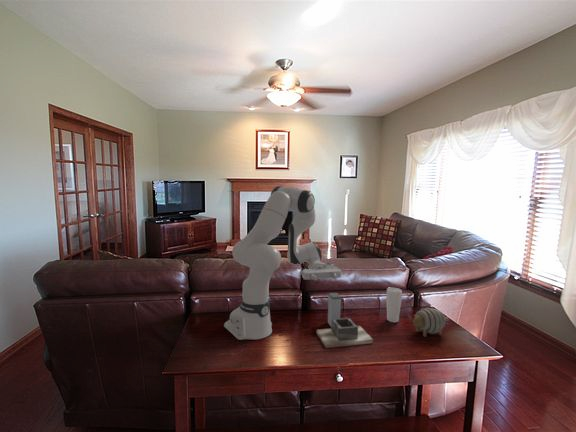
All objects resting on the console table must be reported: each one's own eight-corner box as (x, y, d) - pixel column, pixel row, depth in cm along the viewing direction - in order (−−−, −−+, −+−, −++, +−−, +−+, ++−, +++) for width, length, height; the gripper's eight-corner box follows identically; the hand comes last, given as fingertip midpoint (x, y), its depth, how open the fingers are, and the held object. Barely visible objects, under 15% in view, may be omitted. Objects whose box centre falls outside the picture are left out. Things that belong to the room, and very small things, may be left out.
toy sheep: (405, 330, 130) (406, 306, 129) (436, 325, 135) (438, 302, 134) (422, 342, 120) (424, 316, 119) (455, 336, 125) (457, 311, 124)
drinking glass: (401, 319, 140) (403, 289, 139) (398, 325, 135) (400, 293, 133) (387, 316, 144) (388, 286, 142) (383, 321, 138) (385, 290, 137)
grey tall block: (327, 322, 136) (328, 293, 135) (335, 321, 137) (336, 292, 136) (331, 327, 131) (332, 297, 130) (339, 326, 132) (341, 296, 131)
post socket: (316, 332, 126) (317, 318, 126) (359, 328, 130) (360, 314, 130) (325, 348, 115) (326, 332, 114) (372, 343, 119) (373, 327, 118)
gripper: (299, 265, 155) (305, 273, 142) (335, 263, 159) (345, 270, 146) (298, 277, 156) (305, 285, 143) (335, 274, 160) (345, 283, 147)
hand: (326, 278), depth 144 cm, fingers open, 8 cm apart
